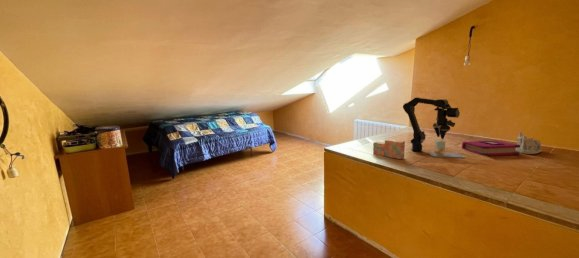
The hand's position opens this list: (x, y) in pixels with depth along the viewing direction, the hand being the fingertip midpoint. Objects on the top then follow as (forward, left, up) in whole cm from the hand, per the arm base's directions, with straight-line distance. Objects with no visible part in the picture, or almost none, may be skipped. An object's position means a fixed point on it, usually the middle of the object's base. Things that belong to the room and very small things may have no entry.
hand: (440, 138), depth 178 cm
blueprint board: (+4, 0, -13) cm, 14 cm away
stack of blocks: (-36, -7, -13) cm, 39 cm away
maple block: (0, 0, -12) cm, 12 cm away
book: (+39, +19, -14) cm, 46 cm away
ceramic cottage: (+67, +23, -13) cm, 72 cm away
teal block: (0, 0, -7) cm, 7 cm away
